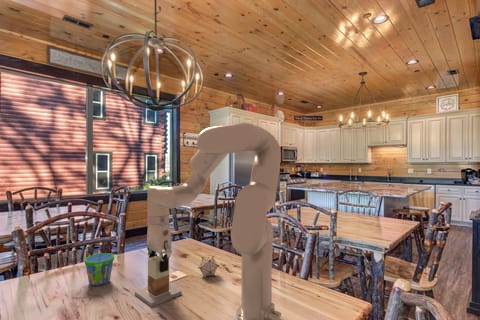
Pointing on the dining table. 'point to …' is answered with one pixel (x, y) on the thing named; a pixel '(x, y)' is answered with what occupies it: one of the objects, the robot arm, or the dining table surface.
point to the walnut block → (158, 285)
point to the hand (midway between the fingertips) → (158, 267)
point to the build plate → (156, 300)
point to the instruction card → (176, 276)
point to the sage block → (156, 267)
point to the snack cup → (99, 268)
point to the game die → (208, 266)
